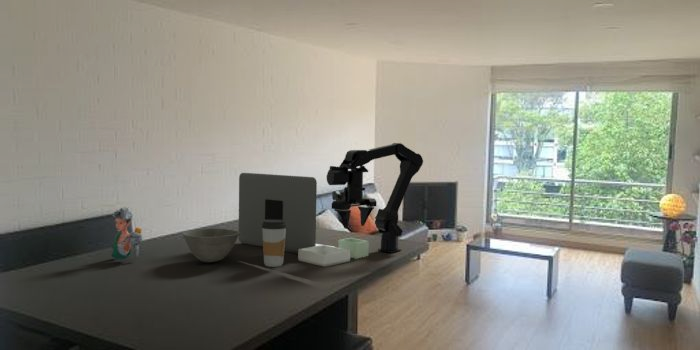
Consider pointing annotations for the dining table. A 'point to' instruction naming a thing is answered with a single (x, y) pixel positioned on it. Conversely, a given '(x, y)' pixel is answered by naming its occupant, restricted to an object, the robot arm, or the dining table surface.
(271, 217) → the laptop
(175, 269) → the dining table surface
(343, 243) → the small crate
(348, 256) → the big crate
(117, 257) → the character figurine
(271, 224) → the coffee cup
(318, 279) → the dining table surface
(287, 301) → the dining table surface
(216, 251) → the bowl
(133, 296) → the dining table surface
